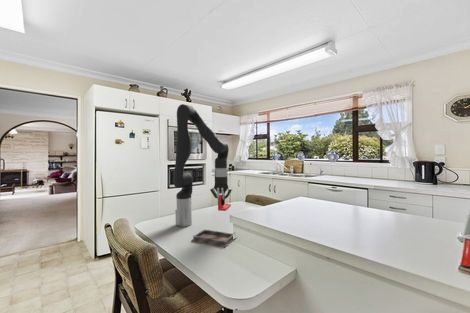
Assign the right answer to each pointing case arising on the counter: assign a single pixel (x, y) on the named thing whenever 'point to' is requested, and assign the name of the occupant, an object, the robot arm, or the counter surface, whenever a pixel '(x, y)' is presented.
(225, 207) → the bracket
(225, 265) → the counter surface
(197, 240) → the plate
